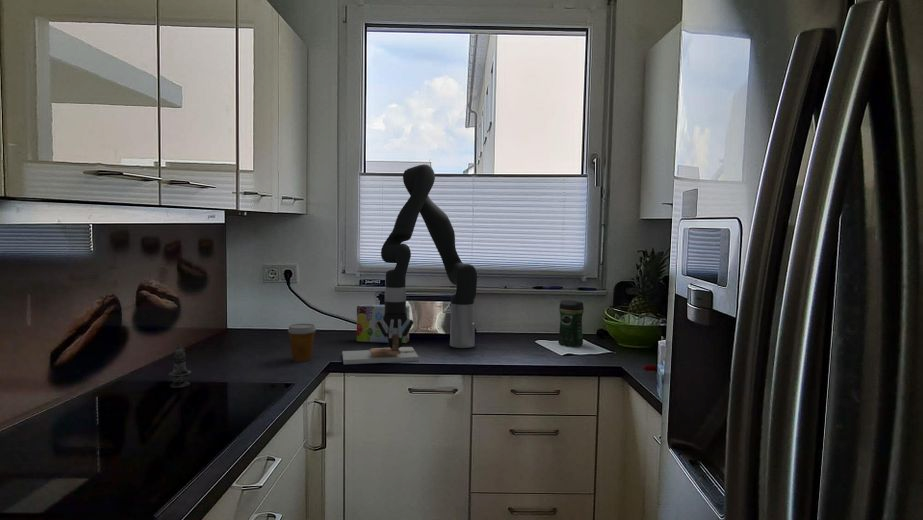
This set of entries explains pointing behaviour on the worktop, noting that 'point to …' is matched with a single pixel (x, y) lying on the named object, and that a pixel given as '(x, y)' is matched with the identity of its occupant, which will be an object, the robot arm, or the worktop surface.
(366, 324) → the snack box
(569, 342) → the coffee jar
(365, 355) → the board
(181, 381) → the dark grey tiered piece
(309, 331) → the disposable coffee cup
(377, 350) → the stub
